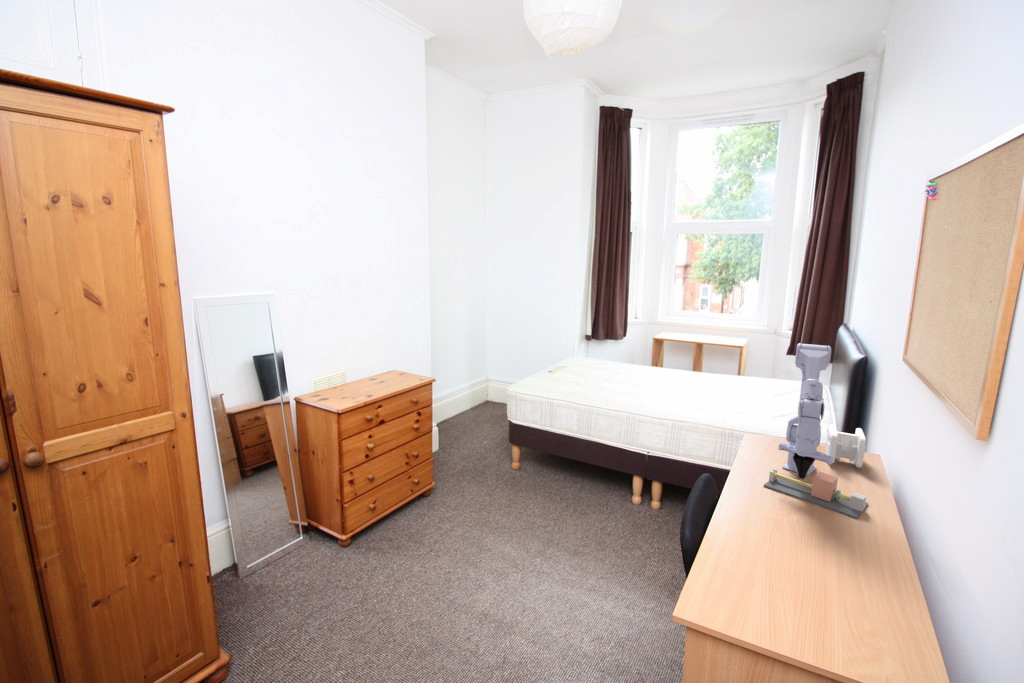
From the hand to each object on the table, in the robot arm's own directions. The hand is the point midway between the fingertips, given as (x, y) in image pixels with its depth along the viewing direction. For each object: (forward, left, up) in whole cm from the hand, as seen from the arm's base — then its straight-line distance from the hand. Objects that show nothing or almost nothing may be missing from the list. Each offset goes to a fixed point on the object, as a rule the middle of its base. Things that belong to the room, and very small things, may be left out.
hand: (801, 477), depth 146 cm
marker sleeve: (0, +6, -4) cm, 8 cm away
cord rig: (0, +3, -4) cm, 6 cm away
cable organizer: (-37, +2, -5) cm, 37 cm away
